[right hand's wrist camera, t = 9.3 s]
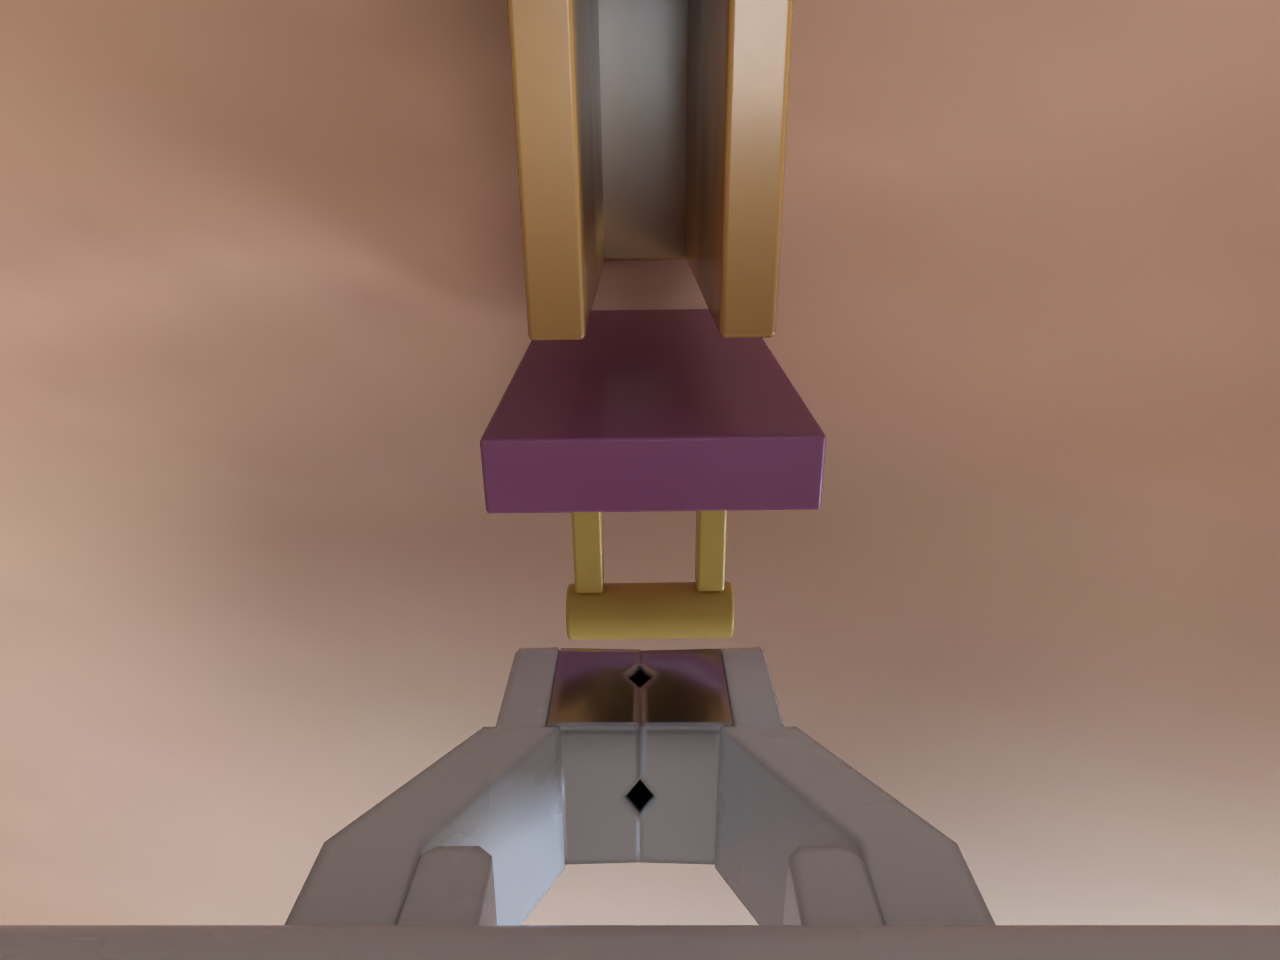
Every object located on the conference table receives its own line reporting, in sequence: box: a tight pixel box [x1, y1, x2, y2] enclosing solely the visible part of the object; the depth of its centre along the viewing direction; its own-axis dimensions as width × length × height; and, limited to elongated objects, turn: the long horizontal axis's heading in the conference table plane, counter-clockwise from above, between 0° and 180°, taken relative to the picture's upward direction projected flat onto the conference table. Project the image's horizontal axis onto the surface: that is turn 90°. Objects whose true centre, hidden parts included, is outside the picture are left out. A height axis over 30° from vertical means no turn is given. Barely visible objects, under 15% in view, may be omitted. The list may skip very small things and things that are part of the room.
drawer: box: [480, 0, 826, 640], centre depth 14 cm, size 23×5×10 cm, turn 1°
